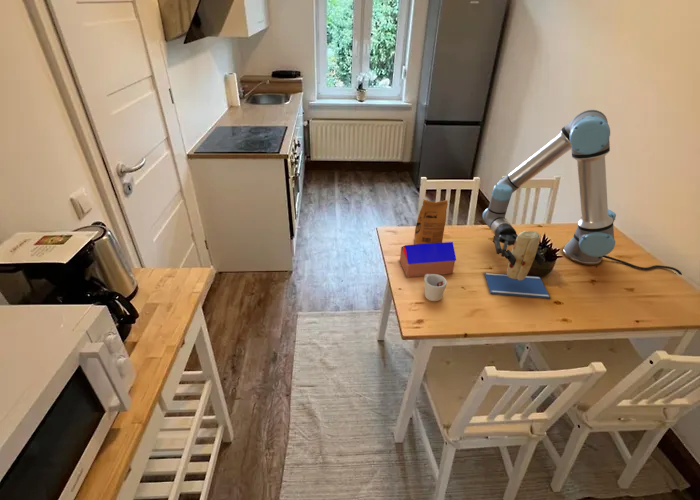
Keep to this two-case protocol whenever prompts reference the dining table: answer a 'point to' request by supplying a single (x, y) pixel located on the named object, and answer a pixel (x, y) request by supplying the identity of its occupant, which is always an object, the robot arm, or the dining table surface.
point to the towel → (516, 286)
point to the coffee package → (431, 222)
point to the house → (428, 259)
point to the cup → (434, 286)
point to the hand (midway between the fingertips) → (528, 262)
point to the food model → (523, 254)
